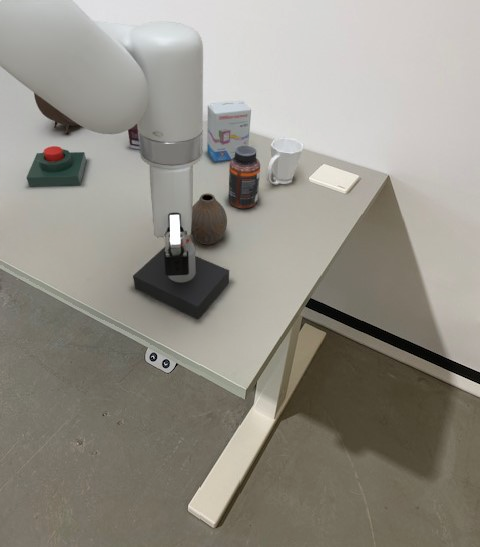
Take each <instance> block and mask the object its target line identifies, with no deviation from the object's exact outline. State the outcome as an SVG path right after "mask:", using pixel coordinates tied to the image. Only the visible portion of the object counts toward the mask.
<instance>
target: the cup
mask: <svg viewBox="0 0 480 547" xmlns="http://www.w3.org/2000/svg"><path fill="white" fill-rule="evenodd" d="M304 145H305V144H303V143H302V142H301V141H299V140H298V139H296V138H290V137H279V138H276V139H275V138H274V139H273V140H272V141H271V144H270V156H271V157H270V158H271V159H270V161H269V164H268V166H267V169H266V176H265V177H266V180H267V182H268V183H270V184H273V185H279V184H281V185H288V184H291V183H292V182H293V178H294V175H295V173H296V171H297V168H298V165H299V161H300V159H301V155H302V152H303V148H304V147H305V146H304ZM271 174H272V175H273V177H272V180H273V181H272V180H271Z"/></svg>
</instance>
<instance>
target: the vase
mask: <svg viewBox="0 0 480 547" xmlns="http://www.w3.org/2000/svg"><path fill="white" fill-rule="evenodd" d="M227 227H228V216H227V212H226V210H225V208H224V206H222V204H221V203H220V202H219V201H218V200H217V199H216V198H215V196H214V194H212V193H207V192H206V193H203V194H201V195H200V197H199V199H198V200H197V201H196V202H195V203H193V205H192V224H191V234H190V235H191V236H192V238H193V239H194V240H195V241H197V242H198V243H200V244H202V245H213V244H215V243H218V242H220V240H222V238H224V236H225V233H226V231H227Z"/></svg>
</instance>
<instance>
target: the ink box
mask: <svg viewBox="0 0 480 547" xmlns="http://www.w3.org/2000/svg"><path fill="white" fill-rule="evenodd" d="M251 115H252V109H251V108H250V107H249V106H248V104H247V103H246V102H245V101H244V100H232V101H219V102H218V101H217V102H210V103H209V104H208V105H207V131H206V132H207V135H206V137H207V138H206V139H207V145H206V146H207V147H206V148H207V149H206V152H207V154H208V155H209V157H210V159H211V160H212V161H213V162H214V163H219V162H226V161H231V160H232V158H234V157H235V149H236V148H237V147H239V146H249V143H250V142H249V141H250V130H251V117H252V116H251Z"/></svg>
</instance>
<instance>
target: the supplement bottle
mask: <svg viewBox="0 0 480 547" xmlns="http://www.w3.org/2000/svg"><path fill="white" fill-rule="evenodd" d="M260 162H261V161H260V160H259V159H258V158H257V149H256V148H255V147H253V146H251V145H248V146H239V147H237V148H236V149H235V157H234V158H232V160H229V167H228V168H229V170H228V202H229V204H230V205H231V206H233V207H235V208H238V209H250V208H252V207H254V206H256V204H257V203H258V199H259V187H260V177H261V176H260V175H261V174H260V173H261V163H260Z"/></svg>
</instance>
